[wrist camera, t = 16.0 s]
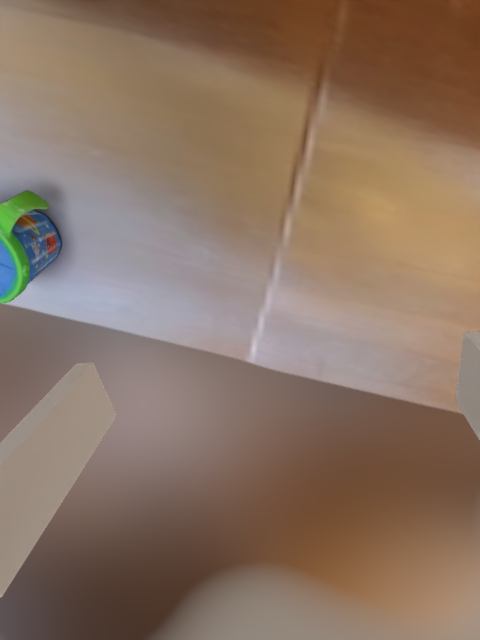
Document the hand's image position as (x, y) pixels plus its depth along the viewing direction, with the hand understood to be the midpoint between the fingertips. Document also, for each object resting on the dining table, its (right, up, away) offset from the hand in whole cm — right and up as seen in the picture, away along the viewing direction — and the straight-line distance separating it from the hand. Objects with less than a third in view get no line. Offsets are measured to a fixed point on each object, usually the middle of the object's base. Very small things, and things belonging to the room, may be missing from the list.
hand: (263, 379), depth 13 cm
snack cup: (-28, +13, +34) cm, 46 cm away
